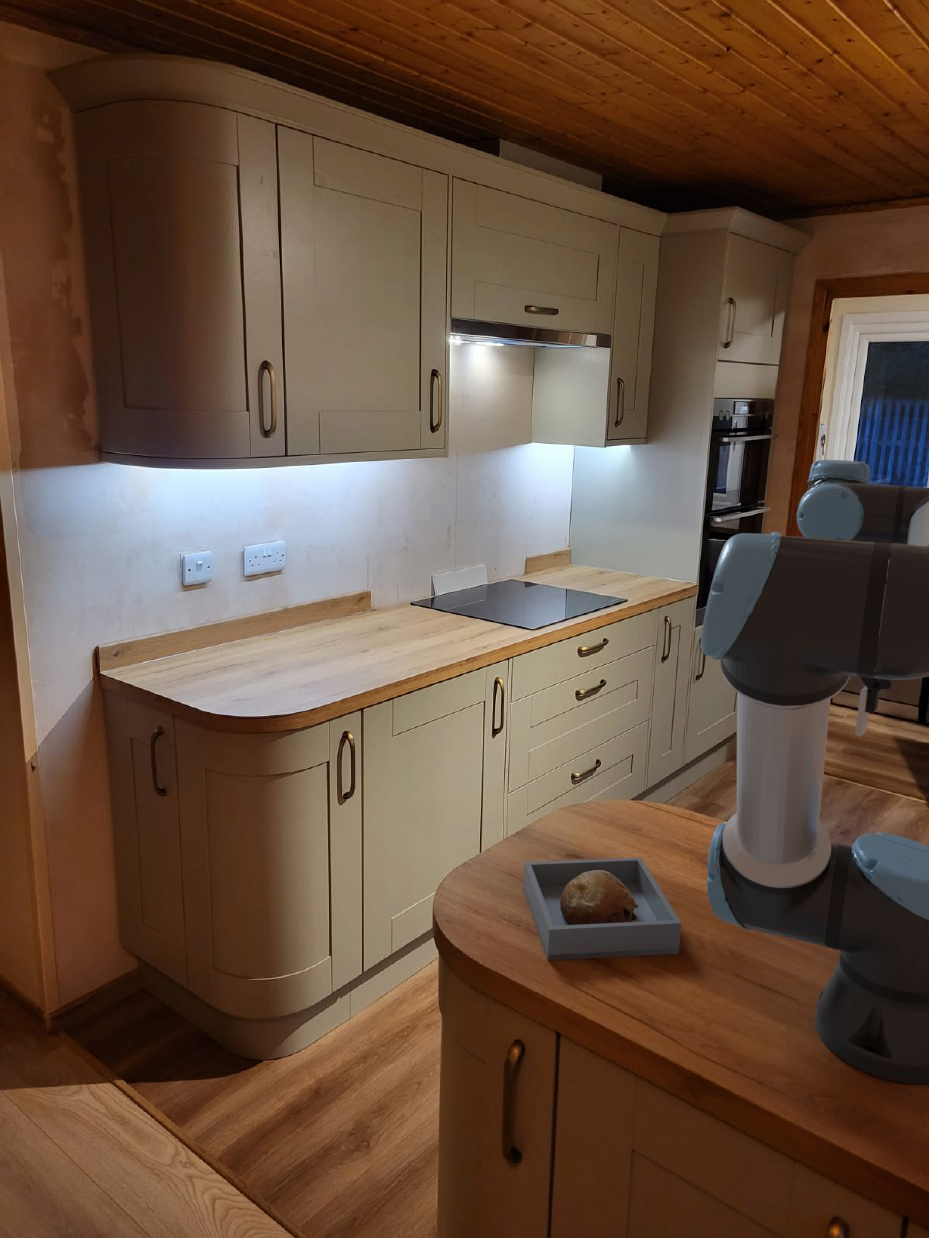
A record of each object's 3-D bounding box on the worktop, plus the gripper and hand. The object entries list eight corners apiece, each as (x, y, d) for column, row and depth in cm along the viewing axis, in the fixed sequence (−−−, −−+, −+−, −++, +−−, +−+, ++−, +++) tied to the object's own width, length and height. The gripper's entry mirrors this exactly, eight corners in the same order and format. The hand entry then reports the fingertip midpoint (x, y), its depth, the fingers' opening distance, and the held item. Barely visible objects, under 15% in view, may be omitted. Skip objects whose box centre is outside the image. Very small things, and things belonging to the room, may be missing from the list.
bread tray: (678, 953, 123) (681, 922, 122) (547, 960, 121) (549, 929, 120) (639, 884, 140) (641, 857, 139) (523, 889, 138) (524, 862, 137)
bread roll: (595, 915, 137) (577, 862, 137) (654, 910, 130) (636, 855, 131) (558, 945, 129) (540, 890, 130) (620, 941, 123) (600, 883, 123)
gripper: (933, 583, 123) (911, 735, 128) (750, 560, 138) (737, 696, 143) (919, 592, 117) (897, 751, 122) (729, 566, 132) (717, 708, 137)
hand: (810, 722), depth 133 cm, fingers open, 13 cm apart
